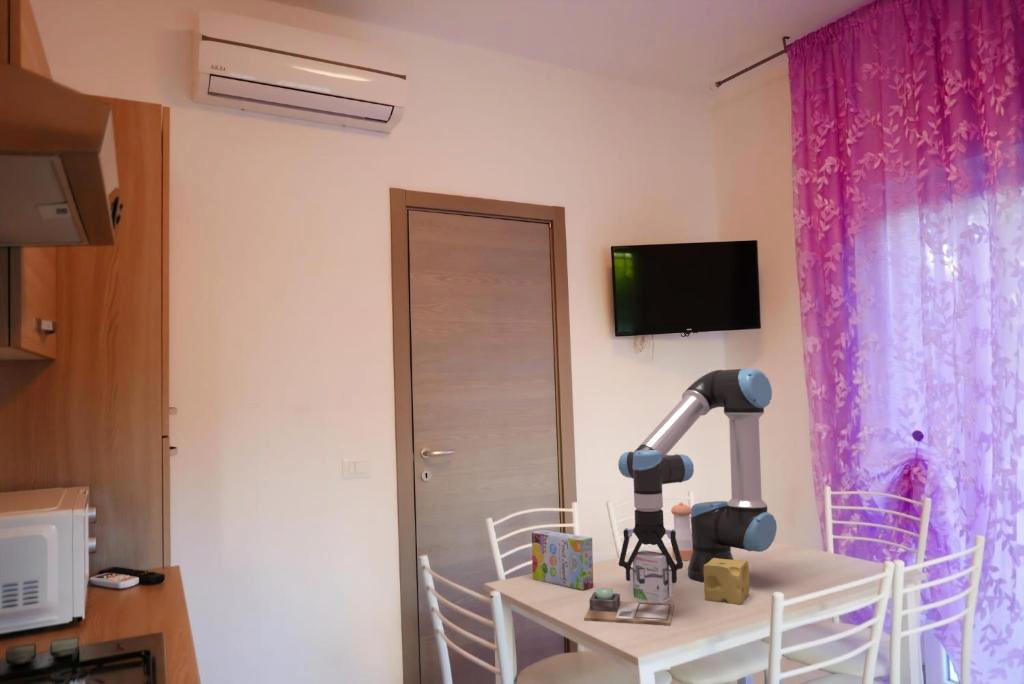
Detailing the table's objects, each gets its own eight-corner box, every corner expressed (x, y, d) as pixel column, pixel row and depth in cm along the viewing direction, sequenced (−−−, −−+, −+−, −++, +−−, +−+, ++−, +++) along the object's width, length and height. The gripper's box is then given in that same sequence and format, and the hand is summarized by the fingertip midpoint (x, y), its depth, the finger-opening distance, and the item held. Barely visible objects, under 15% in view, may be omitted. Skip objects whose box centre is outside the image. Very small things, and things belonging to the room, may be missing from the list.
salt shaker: (672, 555, 255) (669, 501, 256) (693, 555, 254) (690, 501, 255) (673, 560, 248) (671, 504, 249) (695, 560, 247) (692, 504, 248)
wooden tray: (673, 606, 197) (673, 593, 197) (670, 625, 182) (669, 611, 182) (594, 602, 203) (593, 589, 203) (584, 620, 188) (583, 606, 188)
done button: (614, 599, 198) (613, 588, 198) (611, 603, 194) (611, 592, 194) (598, 598, 199) (597, 587, 199) (595, 603, 195) (595, 591, 195)
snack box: (595, 587, 218) (593, 536, 219) (583, 591, 214) (581, 539, 215) (543, 575, 233) (541, 528, 234) (531, 579, 229) (530, 531, 230)
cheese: (741, 605, 196) (739, 568, 197) (702, 600, 202) (700, 564, 203) (750, 595, 205) (749, 560, 206) (713, 590, 211) (711, 556, 212)
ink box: (632, 598, 192) (631, 552, 192) (642, 593, 195) (640, 549, 196) (661, 603, 186) (660, 557, 187) (670, 598, 190) (669, 553, 191)
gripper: (691, 507, 193) (695, 592, 191) (609, 505, 199) (612, 588, 198) (690, 512, 186) (694, 600, 184) (605, 510, 192) (608, 596, 190)
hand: (651, 594), depth 191 cm, fingers closed on ink box, 9 cm apart
